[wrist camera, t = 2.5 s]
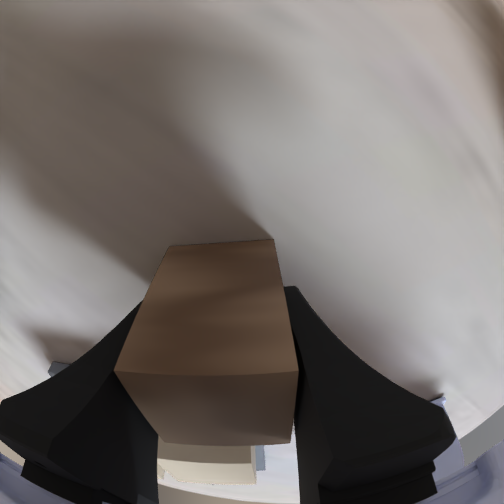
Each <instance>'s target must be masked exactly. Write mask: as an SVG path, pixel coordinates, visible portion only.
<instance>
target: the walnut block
mask: <svg viewBox="0 0 504 504" xmlns="http://www.w3.org/2000/svg"><path fill="white" fill-rule="evenodd" d="M114 372H115V374H116V375H117V377H118V378H119V380H120V382H121V383H122V385H123V386H124V388H125V389H126V391H127V392H128V394H129V395H130V397H131V398H132V400H133V401H134V403H135V404H136V406H137V407H138V408H139V410H140V411H141V413H142V414H143V415H144V417H145V418H146V419H147V421H148V422H149V423H150V425H151V426H152V427H153V429H154V430H155V431H156V432H157V434H158V435H159V436H160V437H161V439H162V440H163V441H164V442H165V443H174V444H186V445H203V446H257V445H274V444H286V443H290V441H291V434H292V426H293V418H294V410H295V401H296V392H297V383H298V373H299V370H298V364H297V358H296V353H295V347H294V341H293V336H292V330H291V325H290V320H289V314H288V309H287V304H286V298H285V293H284V288H283V283H282V278H281V273H280V268H279V263H278V258H277V253H276V248H275V243H274V239H272V240H257V241H241V242H226V243H211V244H197V245H183V246H169V248H168V250H167V252H166V254H165V256H164V258H163V260H162V262H161V264H160V266H159V268H158V270H157V272H156V274H155V276H154V278H153V280H152V282H151V285H150V287H149V289H148V291H147V293H146V295H145V297H144V300H143V302H142V304H141V306H140V308H139V311H138V313H137V315H136V317H135V320H134V322H133V324H132V327H131V329H130V331H129V334H128V336H127V338H126V341H125V343H124V346H123V348H122V350H121V353H120V355H119V358H118V360H117V363H116V366H115V368H114Z"/></svg>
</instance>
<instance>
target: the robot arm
mask: <svg viewBox="0 0 504 504" xmlns="http://www.w3.org/2000/svg"><path fill="white" fill-rule="evenodd" d="M283 288H284V293H285V298H286V304H287V309H288V314H289V320H290V325H291V330H292V336H293V341H294V347H295V353H296V358H297V364H298V370H299V373H298V383H297V392H296V401H295V410H294V426H295V437H296V448H297V460H298V473H299V490H300V504H504V439H503V440H502V441H501V442H499V443H498V444H496V445H495V446H493V447H492V448H490V449H489V450H488V451H486V452H485V453H483V454H482V455H481V456H480V457H478V458H477V459H476V460H475V461H474V462H472V463H470V464H468V465H467V466H465V467H464V455H463V451H462V448H461V446H460V443H459V440H458V438H457V435H456V433H455V431H454V428H453V426H452V424H451V421H450V419H449V417H448V415H447V412H446V410H445V408H444V406H443V404H444V403H445V402H446V398H445V397H442V398H439V399H436V400H434V401H431V402H429V401H427V400H425V399H423V398H421V397H418V396H416V395H414V394H412V393H411V392H409V391H407V390H405V389H404V388H402V387H400V386H398V385H397V384H395V383H393V382H392V381H390V380H389V379H387V378H386V377H384V376H383V375H382V374H380V373H379V372H377V371H376V370H374V369H373V368H371V367H370V366H369V365H368V364H366V363H365V362H364V361H363V360H361V359H360V358H359V357H358V356H357V355H356V354H354V353H353V352H352V351H351V350H350V349H349V348H348V347H347V346H346V345H344V344H343V343H342V342H341V341H340V340H339V339H338V338H337V336H336V335H335V334H334V333H333V332H332V331H331V330H330V329H329V328H328V327H327V326H326V325H325V323H324V322H323V321H322V320H321V319H320V318H319V316H318V315H317V314H316V313H315V312H314V310H313V309H312V308H311V306H310V305H309V304H308V302H307V301H306V300H305V298H304V297H303V295H302V294H301V292H300V291H299V289H298V288H297V287H296V286H287V287H283ZM143 300H144V299H143ZM143 300H142V301H141V302H140V303H139V304H138V305H137V306H136V307H135V308H134V309H133V310H132V311H131V312H130V313H129V314H128V315H127V316H126V317H125V318H124V319H123V320H122V321H121V322H120V323H119V324H118V325H117V326H116V327H115V328H114V329H113V330H112V331H111V332H110V333H108V334H107V335H106V336H105V337H104V338H103V339H102V340H101V341H100V342H99V343H98V344H97V345H95V346H94V347H93V348H92V349H91V350H89V351H88V352H87V353H86V354H84V355H83V356H82V357H80V358H79V359H78V360H77V361H75V362H74V363H72V364H71V365H69V366H68V367H66V368H65V369H63V370H62V371H60V372H59V373H57V374H56V375H54V376H53V377H51V378H49V379H47V380H46V381H44V382H42V383H40V384H38V385H36V386H34V387H32V388H30V389H28V390H26V391H24V392H21V393H19V394H16V395H14V396H11V397H9V398H6V399H3V400H2V402H1V404H0V440H1V441H2V442H3V443H5V444H6V445H7V446H8V447H10V448H11V449H12V450H13V451H15V452H16V453H17V454H19V455H20V456H21V457H23V458H24V459H25V463H24V466H21V465H19V464H17V463H16V462H14V461H12V460H11V459H9V458H7V457H6V456H4V455H3V454H1V453H0V504H159V500H158V483H157V453H158V436H159V435H158V434H157V432H156V431H155V430H154V429H153V427H152V426H151V425H150V423H149V422H148V421H147V419H146V418H145V417H144V415H143V414H142V413H141V411H140V410H139V408H138V407H137V406H136V404H135V403H134V401H133V400H132V398H131V397H130V395H129V394H128V392H127V391H126V389H125V388H124V386H123V385H122V383H121V382H120V380H119V378H118V377H117V375H116V374H115V372H114V368H115V366H116V363H117V360H118V358H119V355H120V353H121V350H122V348H123V346H124V343H125V341H126V338H127V336H128V334H129V331H130V329H131V327H132V324H133V322H134V320H135V317H136V315H137V313H138V311H139V308H140V306H141V304H142V302H143Z"/></svg>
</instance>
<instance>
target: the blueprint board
mask: <svg viewBox="0 0 504 504" xmlns="http://www.w3.org/2000/svg"><path fill="white" fill-rule="evenodd" d="M68 366H69V364H63V363H58V362H53V363H52V364H51V366H50V368H49V370H48V373H49V375H50V376H51V377H53V376H54V375H56V374H57V373H59V372H60V371H62V370H63V369H65V368H66V367H68ZM260 470H265V455H264V445H257V446H203V445H186V444H174V443H165V442H164V441H163V440H162V439H161V437H160V436H158V453H157V478H158V479H164V472H165V471H167V472H168V473H169V474H170V475H171V476H172V477H174V478H175V479H176V480H177V481H180V482H189V483H202V484H222V485H253V484H256V471H260Z"/></svg>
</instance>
